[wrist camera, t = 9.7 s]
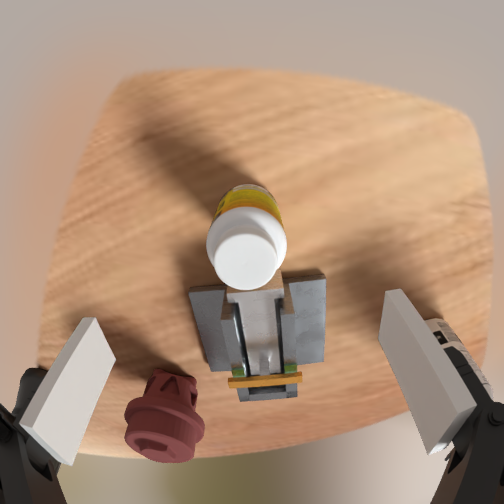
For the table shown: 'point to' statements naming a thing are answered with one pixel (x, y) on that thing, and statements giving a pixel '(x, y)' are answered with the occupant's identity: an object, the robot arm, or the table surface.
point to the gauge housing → (288, 329)
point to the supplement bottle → (246, 237)
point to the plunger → (261, 334)
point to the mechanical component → (165, 419)
